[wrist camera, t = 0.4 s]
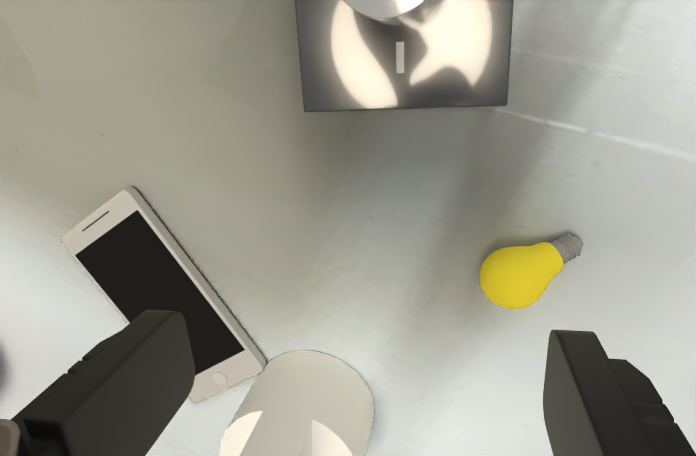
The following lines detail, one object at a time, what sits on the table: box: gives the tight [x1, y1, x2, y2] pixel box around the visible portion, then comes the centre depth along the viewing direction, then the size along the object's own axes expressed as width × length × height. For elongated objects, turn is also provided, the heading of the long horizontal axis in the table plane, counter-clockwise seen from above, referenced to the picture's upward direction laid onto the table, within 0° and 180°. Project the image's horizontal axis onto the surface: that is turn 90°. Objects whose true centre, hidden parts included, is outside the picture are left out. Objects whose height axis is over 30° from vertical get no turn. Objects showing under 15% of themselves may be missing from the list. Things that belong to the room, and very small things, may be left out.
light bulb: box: [479, 234, 583, 309], centre depth 26 cm, size 3×6×4 cm, turn 120°
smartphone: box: [61, 187, 266, 403], centre depth 33 cm, size 7×15×1 cm, turn 34°
